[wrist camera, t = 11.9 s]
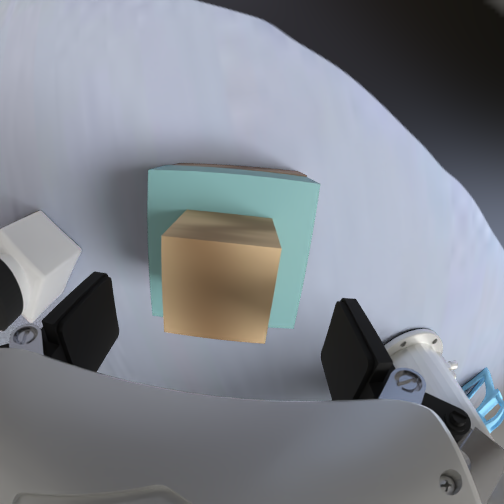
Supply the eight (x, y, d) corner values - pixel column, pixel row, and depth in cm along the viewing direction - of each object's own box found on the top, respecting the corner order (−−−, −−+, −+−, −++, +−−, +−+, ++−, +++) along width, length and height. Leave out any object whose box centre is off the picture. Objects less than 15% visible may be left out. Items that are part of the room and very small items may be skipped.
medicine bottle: (41, 208, 23) (-39, 247, 12) (83, 248, 25) (10, 308, 13) (25, 254, 25) (-40, 302, 14) (63, 292, 26) (5, 354, 15)
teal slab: (306, 176, 19) (320, 184, 15) (286, 299, 23) (293, 328, 19) (167, 165, 19) (148, 169, 15) (166, 288, 22) (152, 315, 18)
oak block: (272, 218, 16) (281, 248, 11) (261, 293, 18) (264, 343, 13) (186, 209, 16) (161, 235, 11) (184, 285, 18) (164, 331, 13)
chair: (490, 374, 35) (517, 410, 24) (461, 402, 38) (485, 440, 26) (484, 362, 33) (515, 403, 22) (453, 393, 36) (479, 437, 24)
